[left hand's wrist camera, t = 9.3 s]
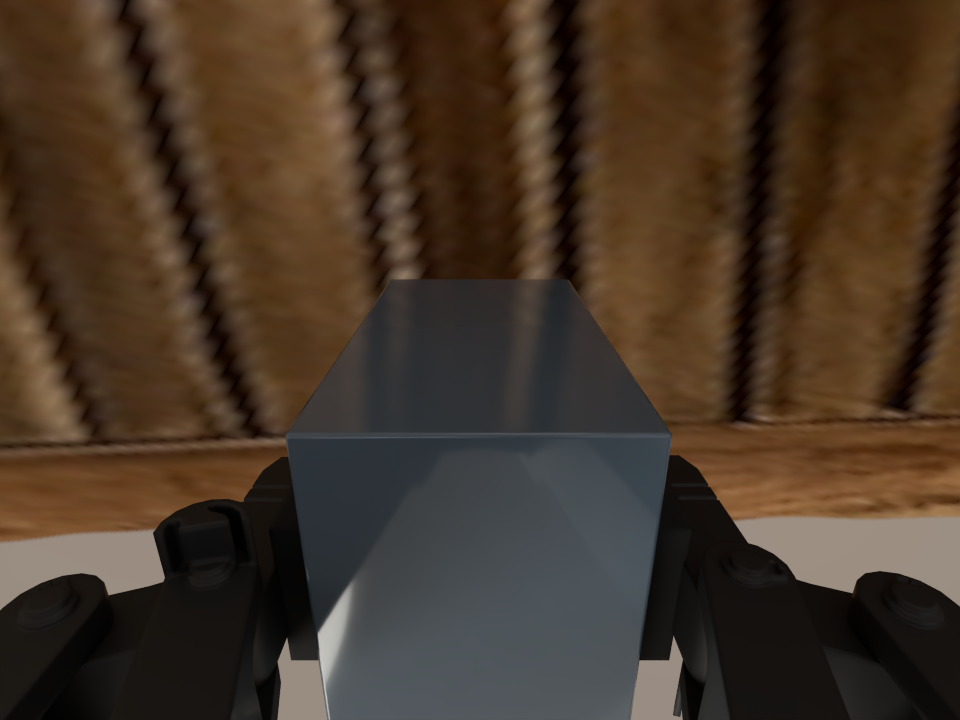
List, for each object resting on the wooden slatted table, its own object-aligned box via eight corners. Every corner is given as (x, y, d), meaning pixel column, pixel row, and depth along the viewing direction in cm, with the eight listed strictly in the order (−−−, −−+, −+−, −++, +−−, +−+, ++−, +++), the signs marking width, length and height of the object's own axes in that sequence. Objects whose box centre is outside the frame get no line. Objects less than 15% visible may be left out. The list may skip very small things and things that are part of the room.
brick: (402, 488, 17) (335, 783, 9) (390, 278, 15) (283, 434, 7) (556, 488, 17) (622, 783, 9) (568, 278, 15) (674, 434, 7)
